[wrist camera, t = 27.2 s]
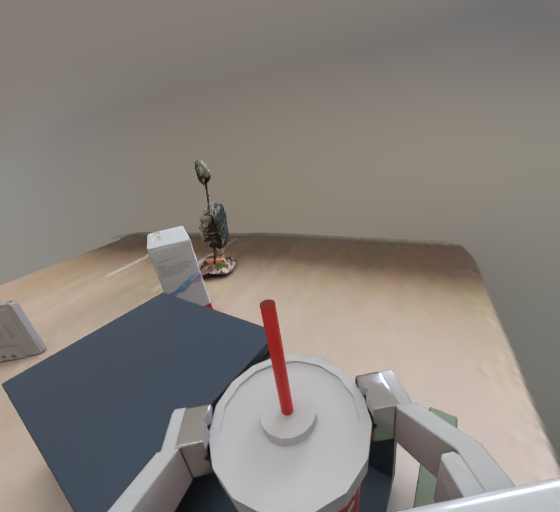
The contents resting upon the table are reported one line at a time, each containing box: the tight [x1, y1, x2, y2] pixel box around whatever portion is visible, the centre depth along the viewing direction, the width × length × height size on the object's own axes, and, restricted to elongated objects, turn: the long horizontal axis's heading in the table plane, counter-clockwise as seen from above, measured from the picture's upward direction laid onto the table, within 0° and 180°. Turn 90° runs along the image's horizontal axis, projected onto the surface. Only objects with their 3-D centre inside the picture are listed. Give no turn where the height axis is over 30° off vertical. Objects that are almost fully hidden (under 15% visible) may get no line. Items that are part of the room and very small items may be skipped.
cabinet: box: [2, 293, 270, 512], centre depth 20 cm, size 15×13×8 cm
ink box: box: [147, 226, 213, 309], centre depth 35 cm, size 9×5×12 cm, turn 26°
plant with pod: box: [195, 159, 237, 276], centre depth 48 cm, size 8×11×20 cm
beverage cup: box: [209, 300, 372, 512], centre depth 11 cm, size 6×6×14 cm
